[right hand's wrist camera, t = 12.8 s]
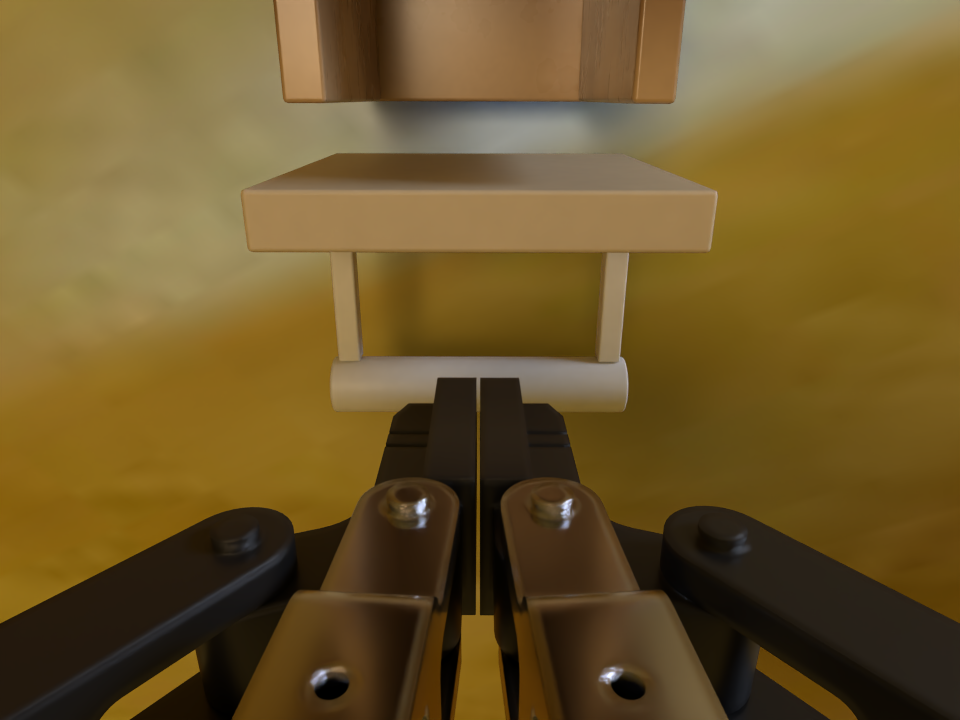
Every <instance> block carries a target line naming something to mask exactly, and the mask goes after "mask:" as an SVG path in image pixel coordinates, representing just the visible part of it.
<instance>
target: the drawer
mask: <svg viewBox="0 0 960 720" xmlns="http://www.w3.org/2000/svg"><path fill="white" fill-rule="evenodd" d="M685 2H686V0H273V3H274V12H275V22H276V32H277V42H278V52H279V61H280V71H281V81H282V91H283V99H284V101H285V102H287V103H338V102H366V101H582V102H607V103H633V104H670V103H673V102H674V100H675V98H676V88H677V79H678V69H679V60H680V50H681V41H682V31H683V21H684V12H685ZM717 197H718V194H717V191H715V190H712V189H710V188H707V187H705V186H702V185H700V184H697V183H695V182H692V181H689V180H687V179H684V178H682V177H679V176H677V175H674V174H672V173H669V172H667V171H664V170H662V169H659V168H657V167H654V166H652V165H649V164H647V163H644V162H641V161H639V160H636V159H634V158H631V157H629V156H626V155H624V154H425V153H336V154H334V155H331V156H329V157H326V158H324V159H321V160H318V161H316V162H313V163H311V164H308V165H306V166H303V167H300V168H298V169H295V170H293V171H290V172H288V173H285V174H283V175H280V176H277V177H275V178H272V179H270V180H267V181H265V182H262V183H259V184H257V185H254V186H252V187H249V188H247V189H244V190H242V191H241V200H242V208H243V216H244V223H245V231H246V239H247V246H248V249H249V251H252V252H330V260H331V272H332V284H333V296H334V308H335V320H336V332H337V343H338V355H339V356H338V357H335V359H334V361H333V364H332V368H331V374H330V395H331V402H332V406H333V408H334V410H335V411H337V412H399V411H400V410H401V409H402V408H404V407H405V406H406V405H407V404H408V403H434V397H435V391H436V384H437V378H438V377H477V412H480V378H519V381H520V388H521V395H522V402H523V403H548V404H549V405H550V406H552V407H553V408H554V409H555V410H556V411H557V412H622V411H624V409H625V407H626V403H627V398H628V373H627V367H626V363H625V360H624V359H623V358H622V357H620V350H621V339H622V327H623V316H624V304H625V293H626V282H627V270H628V259H629V253H706V252H709V251H710V248H711V242H712V235H713V227H714V220H715V212H716V205H717ZM356 252H507V253H602V265H601V279H600V293H599V307H598V321H597V335H596V349H595V355H596V357H432V356H362V355H363V345H362V330H361V316H360V301H359V287H358V272H357V258H356Z"/></svg>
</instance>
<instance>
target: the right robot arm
mask: <svg viewBox="0 0 960 720" xmlns="http://www.w3.org/2000/svg"><path fill="white" fill-rule="evenodd" d="M389 432H390V433H389V435H388V438H387V442H386V447H385V450H384V453H383V457H382V461H381V464H380V468H379V472H378V475H377V479H376V483H375V486H374V487H373V488H371V489H369V490H368V491H367V492H365V493H364V494H363V496H362V497H361V498H360V500H359V501H358V503H357V505H356V508H355V510H354V512H353V515H352V517H350V518H348V519H346V520H344V521H342V522H340V523H337V524H334V525H331V526H328V527H324V528H320V529H315V530H310V531H305V532H300V533H295V534H294V529H293V525H292V522H291V521H290V520H289V518H288V517H286V516H285V515H284V514H282V513H280V512H278V511H275V510H272V509H268V508H260V507H249V508H239V509H233V510H229V511H225V512H222V513H219V514H216V515H214V516H211V517H209V518H207V519H205V520H203V521H201V522H199V523H197V524H195V525H193V526H191V527H189V528H187V529H185V530H183V531H181V532H179V533H177V534H175V535H173V536H171V537H169V538H167V539H166V540H164V541H162V542H160V543H158V544H156V545H154V546H152V547H150V548H148V549H146V550H144V551H142V552H140V553H138V554H136V555H134V556H132V557H130V558H128V559H126V560H124V561H122V562H120V563H118V564H116V565H114V566H112V567H111V568H109V569H107V570H105V571H103V572H101V573H99V574H97V575H95V576H93V577H91V578H89V579H87V580H85V581H83V582H81V583H79V584H77V585H75V586H73V587H71V588H69V589H67V590H65V591H63V592H61V593H59V594H57V595H55V596H54V597H52V598H50V599H48V600H46V601H44V602H42V603H40V604H38V605H36V606H34V607H32V608H30V609H28V610H26V611H24V612H22V613H20V614H18V615H16V616H14V617H12V618H10V619H8V620H6V621H4V622H2V623H0V720H100V718H101V717H102V716H103V714H104V713H105V712H106V711H107V710H108V709H109V708H110V707H111V706H112V705H113V704H114V703H115V702H116V701H118V700H119V699H120V698H122V697H123V696H125V695H126V694H128V693H129V692H131V691H132V690H134V689H135V688H137V687H139V686H140V685H142V684H143V683H145V682H146V681H148V680H149V679H151V678H152V677H154V676H155V675H157V674H158V673H160V672H161V671H163V670H164V669H166V668H167V667H169V666H170V665H172V664H173V663H175V662H177V661H178V660H180V659H181V658H183V657H184V656H186V655H187V654H189V653H190V652H192V651H193V650H196V655H197V659H198V664H199V669H200V672H198V673H197V674H196V675H194V676H193V677H191V678H190V679H188V680H187V681H185V682H184V683H182V684H181V685H180V686H178V687H177V688H175V689H174V690H172V691H171V692H169V693H168V694H166V695H165V696H164V697H162V698H161V699H159V700H158V701H156V702H155V703H153V704H152V705H151V706H149V707H148V708H146V709H145V710H143V711H142V712H140V713H139V714H137V715H136V716H135V717H133V718H132V719H130V720H454V716H455V709H456V701H457V693H458V685H459V677H460V669H461V620H462V615H476V510H477V377H438V378H437V384H436V391H435V397H434V403H408V404H407V405H406V406H405V407H404V408H402V409H401V410H400V411H399V412H398V413H397V414H395V415H394V416H393V420H392V424H391V427H390V431H389ZM480 615H494V633H495V638H496V641H497V643H498V645H499V669H500V677H501V685H502V693H503V701H504V709H505V716H506V720H830V719H828V718H827V717H825V716H824V715H823V714H821V713H820V712H818V711H817V710H815V709H814V708H812V707H811V706H809V705H808V704H807V703H805V702H804V701H802V700H801V699H799V698H798V697H796V696H795V695H793V694H792V693H791V692H789V691H788V690H786V689H785V688H783V687H782V686H780V685H779V684H778V683H776V682H775V681H773V680H772V679H770V678H769V677H767V676H766V675H764V674H763V673H762V672H760V671H759V670H757V669H756V664H757V659H758V654H759V649H760V646H761V647H762V648H764V649H765V650H767V651H768V652H770V653H771V654H773V655H774V656H776V657H777V658H779V659H780V660H782V661H783V662H785V663H787V664H788V665H790V666H791V667H793V668H794V669H796V670H797V671H799V672H800V673H802V674H803V675H805V676H806V677H808V678H809V679H811V680H812V681H814V682H815V683H817V684H818V685H820V686H821V687H823V688H824V689H826V690H828V691H829V692H831V693H832V694H834V695H835V696H836V697H838V698H839V699H840V700H842V701H843V702H844V703H845V704H846V705H847V706H848V707H849V708H850V709H851V710H852V712H853V713H854V714H855V716H856V717H857V719H858V720H960V623H958V622H956V621H954V620H952V619H950V618H948V617H946V616H944V615H942V614H940V613H938V612H936V611H934V610H932V609H930V608H928V607H926V606H924V605H922V604H920V603H918V602H916V601H914V600H912V599H910V598H908V597H906V596H904V595H903V594H901V593H899V592H897V591H895V590H893V589H891V588H889V587H887V586H885V585H883V584H881V583H879V582H877V581H875V580H873V579H871V578H869V577H867V576H865V575H863V574H861V573H859V572H857V571H855V570H853V569H851V568H849V567H848V566H846V565H844V564H842V563H840V562H838V561H836V560H834V559H832V558H830V557H828V556H826V555H824V554H822V553H820V552H818V551H816V550H814V549H812V548H810V547H808V546H806V545H804V544H802V543H800V542H798V541H796V540H794V539H792V538H791V537H789V536H787V535H785V534H783V533H781V532H779V531H777V530H775V529H773V528H771V527H769V526H767V525H765V524H763V523H761V522H759V521H757V520H755V519H753V518H751V517H749V516H747V515H745V514H742V513H739V512H736V511H733V510H730V509H726V508H720V507H713V506H695V507H688V508H685V509H681V510H679V511H677V512H675V513H673V514H672V515H671V516H670V517H669V518H668V519H667V520H666V522H665V525H664V532H663V534H659V533H654V532H649V531H644V530H639V529H634V528H630V527H626V526H623V525H620V524H617V523H615V522H613V521H611V520H610V519H609V517H608V515H607V512H606V510H605V508H604V505H603V503H602V501H601V500H600V498H599V497H598V496H597V494H596V493H595V492H593V491H592V490H591V489H589V488H587V487H586V486H584V485H582V484H580V480H579V476H578V472H577V469H576V465H575V461H574V457H573V453H572V449H571V447H570V442H569V438H568V434H567V430H566V426H565V423H564V419H563V416H562V415H561V414H560V413H559V412H557V411H556V410H555V409H554V408H553V407H552V406H550V405H549V404H548V403H523V402H522V395H521V388H520V381H519V378H480Z"/></svg>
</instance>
